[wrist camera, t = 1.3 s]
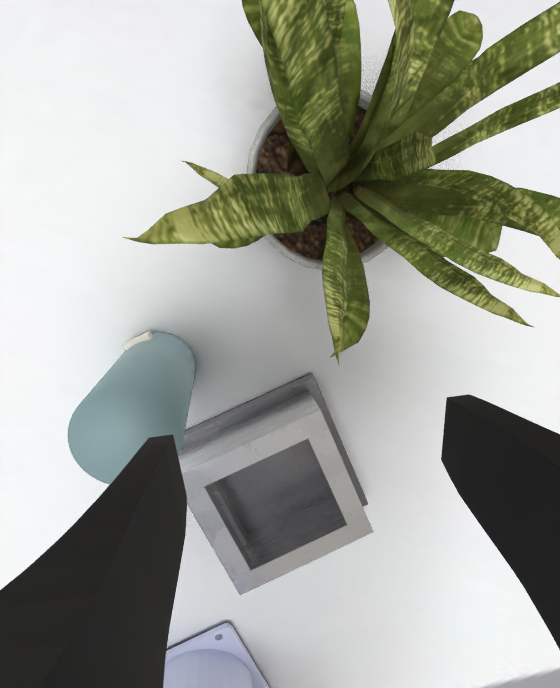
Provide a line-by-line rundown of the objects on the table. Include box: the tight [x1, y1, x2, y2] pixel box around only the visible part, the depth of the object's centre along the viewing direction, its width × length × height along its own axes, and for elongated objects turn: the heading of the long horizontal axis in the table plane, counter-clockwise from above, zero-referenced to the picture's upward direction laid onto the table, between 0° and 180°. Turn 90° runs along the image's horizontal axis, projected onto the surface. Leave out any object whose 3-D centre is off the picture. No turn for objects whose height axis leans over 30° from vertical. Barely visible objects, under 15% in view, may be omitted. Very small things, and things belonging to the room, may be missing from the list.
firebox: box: [178, 373, 373, 595], centre depth 24 cm, size 10×10×4 cm
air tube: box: [68, 331, 196, 484], centre depth 19 cm, size 4×4×9 cm
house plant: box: [122, 0, 560, 364], centre depth 15 cm, size 14×14×16 cm
